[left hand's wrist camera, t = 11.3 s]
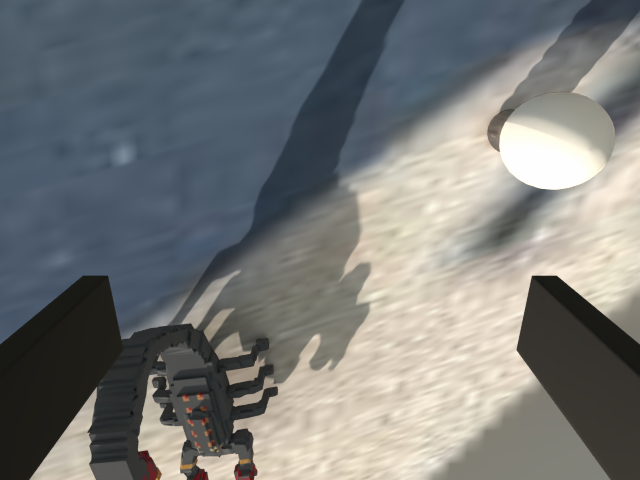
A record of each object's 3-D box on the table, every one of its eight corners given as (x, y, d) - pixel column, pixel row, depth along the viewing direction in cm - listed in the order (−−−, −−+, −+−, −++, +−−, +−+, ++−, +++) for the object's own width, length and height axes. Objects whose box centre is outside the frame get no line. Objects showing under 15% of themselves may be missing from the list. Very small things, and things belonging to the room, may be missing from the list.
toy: (252, 262, 40) (202, 395, 23) (292, 460, 50) (277, 657, 33) (120, 277, 41) (-23, 417, 24) (184, 470, 51) (116, 668, 34)
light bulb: (459, 151, 37) (513, 180, 26) (499, 76, 34) (575, 74, 24) (524, 180, 37) (600, 218, 27) (567, 108, 35) (668, 120, 25)
